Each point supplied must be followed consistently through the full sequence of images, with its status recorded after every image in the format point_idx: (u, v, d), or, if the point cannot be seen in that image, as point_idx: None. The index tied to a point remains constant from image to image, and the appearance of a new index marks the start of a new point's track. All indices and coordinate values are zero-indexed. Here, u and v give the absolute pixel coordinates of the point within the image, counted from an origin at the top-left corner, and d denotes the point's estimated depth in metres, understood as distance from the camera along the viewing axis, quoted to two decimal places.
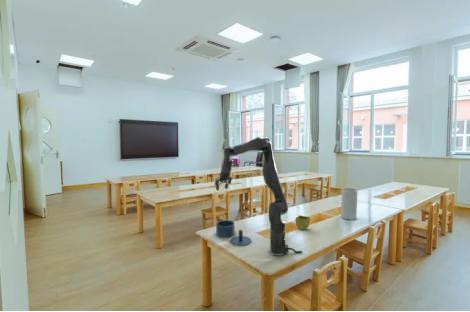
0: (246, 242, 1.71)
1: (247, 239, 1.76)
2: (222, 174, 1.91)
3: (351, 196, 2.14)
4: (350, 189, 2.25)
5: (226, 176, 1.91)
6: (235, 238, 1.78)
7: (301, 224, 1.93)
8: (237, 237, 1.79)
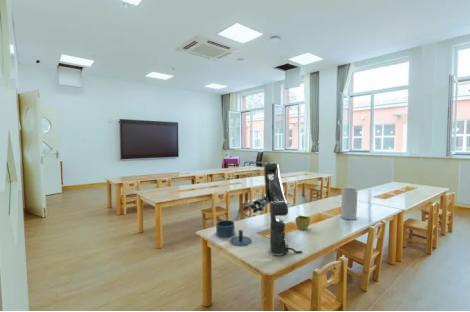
0: (246, 242, 1.71)
1: (247, 239, 1.76)
2: None
3: (351, 196, 2.14)
4: (350, 189, 2.25)
5: (256, 200, 1.93)
6: (235, 238, 1.78)
7: (301, 224, 1.93)
8: (237, 237, 1.79)
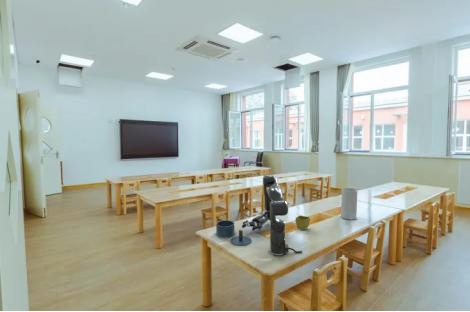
0: (246, 242, 1.71)
1: (247, 239, 1.76)
2: None
3: (351, 196, 2.14)
4: (350, 189, 2.25)
5: (255, 217, 1.92)
6: (235, 238, 1.78)
7: (301, 224, 1.93)
8: (237, 237, 1.79)
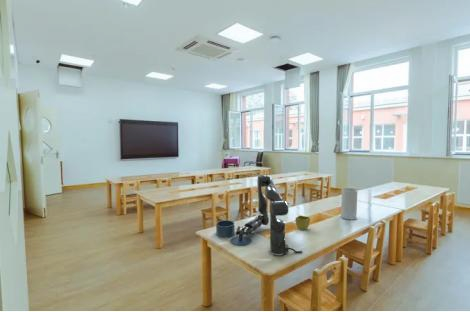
0: (246, 242, 1.71)
1: (247, 239, 1.76)
2: None
3: (351, 196, 2.14)
4: (350, 189, 2.25)
5: None
6: (235, 238, 1.78)
7: (301, 224, 1.93)
8: (237, 237, 1.79)
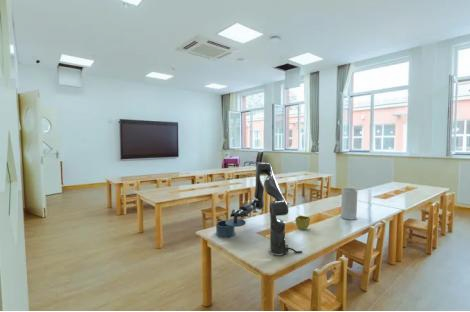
0: (240, 223, 1.74)
1: (242, 221, 1.79)
2: None
3: (351, 196, 2.14)
4: (350, 189, 2.25)
5: None
6: (230, 220, 1.81)
7: (301, 224, 1.93)
8: (232, 219, 1.82)
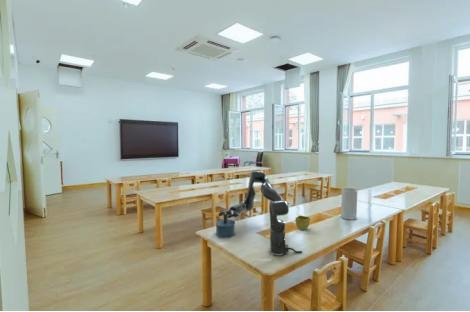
0: (230, 224, 1.83)
1: (231, 222, 1.88)
2: None
3: (351, 196, 2.14)
4: (350, 189, 2.25)
5: (232, 206, 1.96)
6: (220, 221, 1.90)
7: (301, 224, 1.93)
8: (222, 220, 1.91)
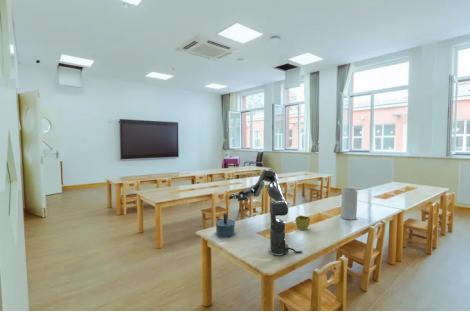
0: (230, 224, 1.83)
1: (231, 222, 1.88)
2: None
3: (351, 196, 2.14)
4: (350, 189, 2.25)
5: (241, 191, 2.06)
6: (220, 221, 1.90)
7: (301, 224, 1.93)
8: (222, 220, 1.91)
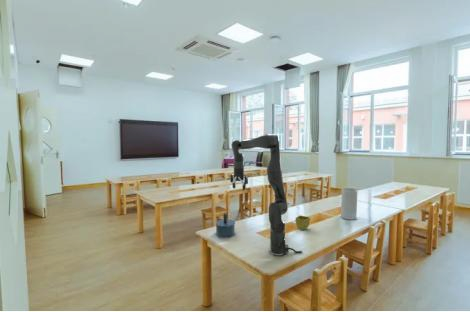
0: (230, 224, 1.83)
1: (231, 222, 1.88)
2: None
3: (351, 196, 2.14)
4: (350, 189, 2.25)
5: (234, 171, 1.82)
6: (220, 221, 1.90)
7: (301, 224, 1.93)
8: (222, 220, 1.91)
